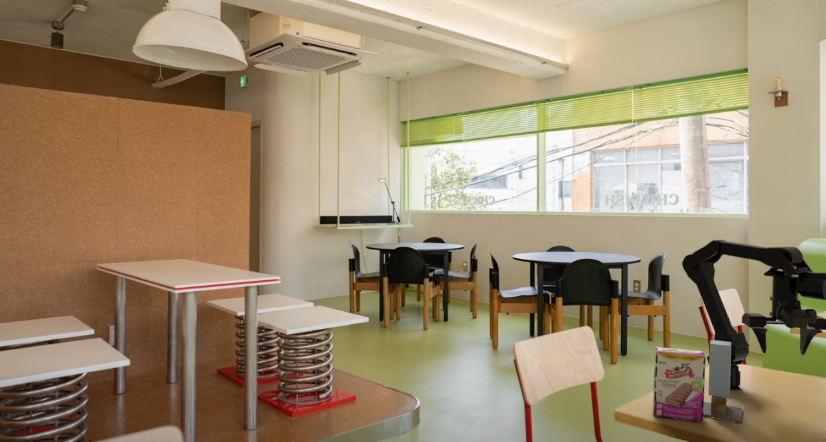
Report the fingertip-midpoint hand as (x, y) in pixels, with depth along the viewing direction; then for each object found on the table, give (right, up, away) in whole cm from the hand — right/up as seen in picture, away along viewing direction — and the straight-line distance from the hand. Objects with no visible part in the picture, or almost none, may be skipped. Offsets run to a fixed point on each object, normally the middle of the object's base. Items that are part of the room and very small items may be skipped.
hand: (783, 353), depth 152 cm
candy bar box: (-32, -13, -10) cm, 37 cm away
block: (-21, -9, -7) cm, 23 cm away
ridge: (-21, -13, -7) cm, 26 cm away
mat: (-21, -13, -7) cm, 26 cm away
